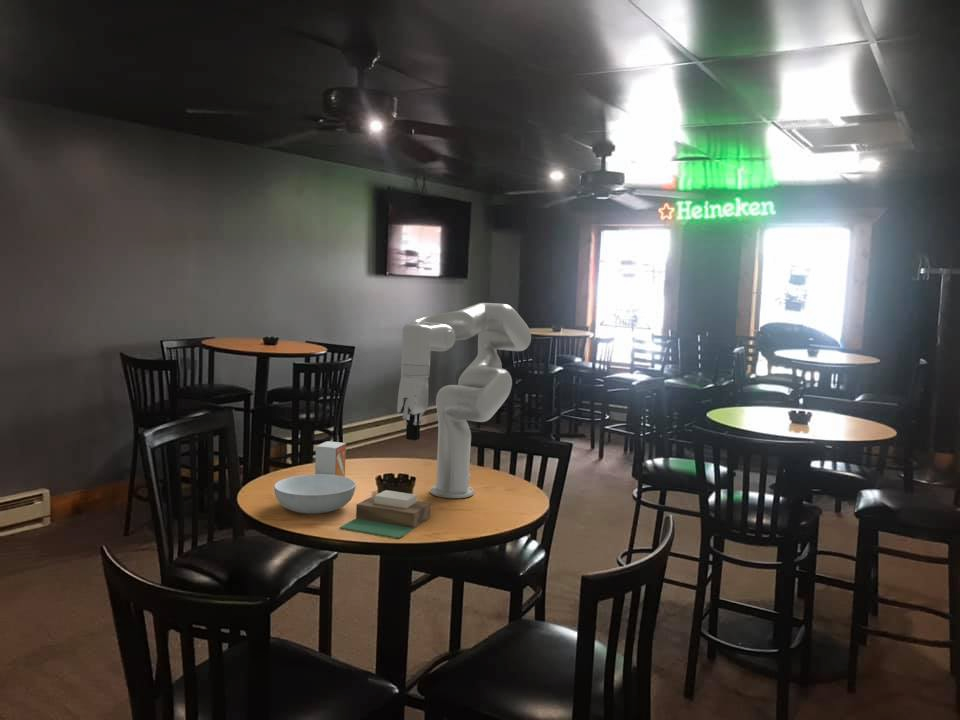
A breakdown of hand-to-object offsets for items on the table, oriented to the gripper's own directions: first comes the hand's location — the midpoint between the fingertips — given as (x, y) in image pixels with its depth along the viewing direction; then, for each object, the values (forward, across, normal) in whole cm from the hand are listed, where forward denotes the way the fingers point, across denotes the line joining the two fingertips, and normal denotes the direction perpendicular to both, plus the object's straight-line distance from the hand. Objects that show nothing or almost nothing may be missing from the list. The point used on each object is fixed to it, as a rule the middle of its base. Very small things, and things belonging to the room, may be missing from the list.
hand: (412, 439), depth 197 cm
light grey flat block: (+15, +9, 0) cm, 17 cm away
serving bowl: (+19, +12, -22) cm, 32 cm away
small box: (+19, -7, -29) cm, 35 cm away
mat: (+19, +19, 0) cm, 27 cm away
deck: (+19, +10, 0) cm, 21 cm away
